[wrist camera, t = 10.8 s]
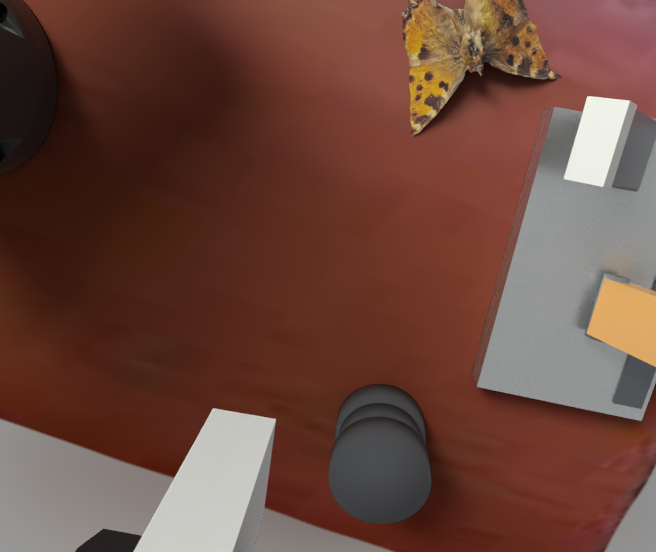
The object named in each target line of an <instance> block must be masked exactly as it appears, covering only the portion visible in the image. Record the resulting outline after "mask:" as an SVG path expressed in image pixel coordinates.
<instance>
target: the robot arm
mask: <svg viewBox="0 0 656 552" xmlns="http://www.w3.org/2000/svg"><path fill="white" fill-rule="evenodd" d="M56 103H57V75H56V68H55V63H54V59H53V55H52V52H51V49H50V46H49V43H48V40H47V38H46V36H45V34H44V32H43V29H42V28H41V26H40V24H39V22H38V21H37V19H36V18H35V16H34V14H33V13H32V12H31V10H30V9H29V8H28V6H27V5H26V4H25V3H24V2H23V0H0V175H3V174H6V173H8V172H10V171H12V170H14V169H16V168H18V167H19V166H21V165H22V164H24V163H25V162H26V161H27V160H28V159H30V158H31V157H32V156H33V155H34V153H35V152H36V151H37V150H38V149H39V147H40V146H41V144H42V143H43V141H44V140H45V138H46V136H47V134H48V132H49V129H50V127H51V124H52V121H53V118H54V114H55V109H56ZM275 423H276V419H272V418H266V417H261V416H255V415H249V414H243V413H238V412H232V411H226V410H220V409H214V408H213V409H212V411H211V413H210V415H209V417H208V418H207V420H206V422H205V424H204V426H203V427H202V429H201V431H200V433H199V435H198V436H197V438H196V440H195V442H194V444H193V445H192V447H191V449H190V451H189V453H188V454H187V456H186V458H185V460H184V462H183V463H182V465H181V467H180V469H179V471H178V472H177V474H176V476H175V478H174V480H173V481H172V483H171V485H170V487H169V489H168V491H167V492H166V494H165V496H164V498H163V500H162V501H161V503H160V505H159V507H158V508H157V510H156V512H155V514H154V516H153V518H152V519H151V521H150V523H149V525H148V527H147V528H146V530H145V532H144V534H143V535H142V536H140V535H134V534H129V533H124V532H118V531H113V530H107V529H103V530H101V531H100V532H99V533H97V534H96V535H95V536H93V537H92V538H91V539H90V540H88V541H87V542H85V543H84V544H83V545H81V546H80V547H79V548H78V549H77V550H76V552H253V550H254V547H255V543H256V540H257V536H258V532H259V529H260V525H261V522H262V518H263V514H264V506H265V499H266V491H267V484H268V476H269V469H270V461H271V454H272V446H273V438H274V431H275Z"/></svg>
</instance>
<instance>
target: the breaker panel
mask: <svg viewBox="0 0 656 552" xmlns="http://www.w3.org/2000/svg"><path fill="white" fill-rule="evenodd" d="M582 114H583V112H580V111H574V110H569V109H563V108H558V107H550V108H544V109H543V113H542V116H541V120H540V124H539V127H538V131H537V135H536V138H535V142H534V146H533V149H532V153H531V157H530V160H529V164H528V168H527V171H526V175H525V179H524V182H523V186H522V190H521V193H520V197H519V201H518V204H517V208H516V212H515V215H514V219H513V223H512V226H511V230H510V234H509V237H508V241H507V245H506V248H505V252H504V256H503V260H502V263H501V267H500V271H499V274H498V278H497V282H496V285H495V289H494V293H493V296H492V300H491V304H490V307H489V311H488V315H487V318H486V322H485V326H484V329H483V333H482V337H481V340H480V344H479V348H478V351H477V355H476V359H475V362H474V366H473V370H472V375H473V377H474V380H475V383H476V386H477V387H480V388H485V389H490V390H494V391H499V392H504V393H509V394H514V395H518V396H523V397H528V398H533V399H538V400H543V401H547V402H552V403H557V404H562V405H567V406H571V407H576V408H581V409H586V410H591V411H595V412H600V413H605V414H610V415H615V416H619V417H624V418H629V419H634V420H639V421H642V418H643V415H644V413H645V410H646V407H647V405H648V402H649V399H650V397H651V394H652V391H653V389H654V386H655V383H656V367H655V366H653V365H650V364H648V363H646V362H644V361H642V360H640V359H638V358H636V357H634V356H632V355H630V354H628V353H626V352H624V351H622V350H619V349H617V348H615V347H613V346H611V345H609V344H607V343H605V342H599V341H596V340H593V339H590V338H588V337H587V336H585V335H584V334H585V331H586V328H587V325H588V321H589V318H590V315H591V312H592V309H593V306H594V303H595V300H596V297H597V294H598V291H599V288H600V285H601V282H602V279H603V275H604V273H611V274H616V275H620V276H623V277H626V278H628V279H630V282H631V283H634V284H636V285H639V286H642V287H645V288H648V289H650V290H653V291H656V139H655V142H654V145H653V148H652V151H651V154H650V157H649V161H648V164H647V167H646V170H645V173H644V176H643V179H642V182H641V185H640V188H639V189H638V191H637V192H635V191H629V190H624V189H619V188H614V187H611V188H608V187H601V186H596V185H591V184H586V183H581V182H576V181H571V180H566V179H564V175H565V172H566V169H567V165H568V162H569V158H570V155H571V151H572V148H573V145H574V141H575V138H576V134H577V131H578V127H579V124H580V121H581V117H582Z"/></svg>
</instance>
